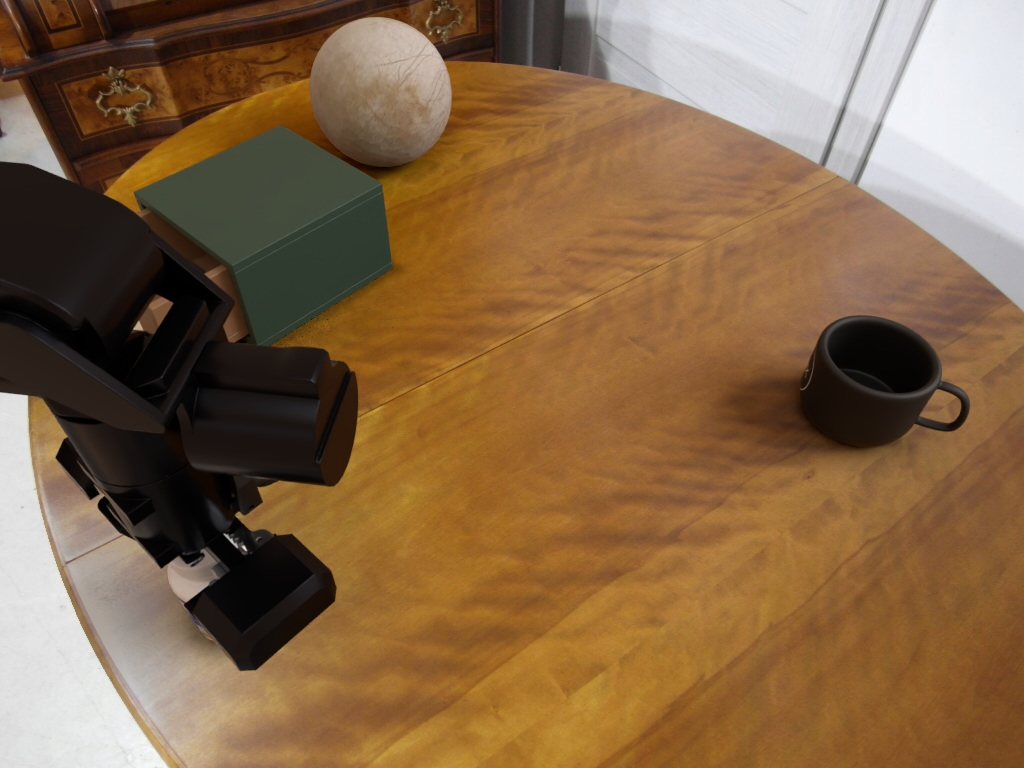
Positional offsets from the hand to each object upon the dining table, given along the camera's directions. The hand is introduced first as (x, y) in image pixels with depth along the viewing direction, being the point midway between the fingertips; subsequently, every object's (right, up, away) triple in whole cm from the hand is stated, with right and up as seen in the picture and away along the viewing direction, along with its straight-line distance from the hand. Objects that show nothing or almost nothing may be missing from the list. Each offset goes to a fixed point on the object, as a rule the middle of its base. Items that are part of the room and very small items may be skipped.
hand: (228, 590), depth 50 cm
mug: (+47, +10, +14) cm, 50 cm away
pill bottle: (0, -2, +2) cm, 3 cm away
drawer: (-12, +18, +18) cm, 28 cm away
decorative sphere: (+4, +39, +39) cm, 56 cm away
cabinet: (-4, +24, +25) cm, 35 cm away
